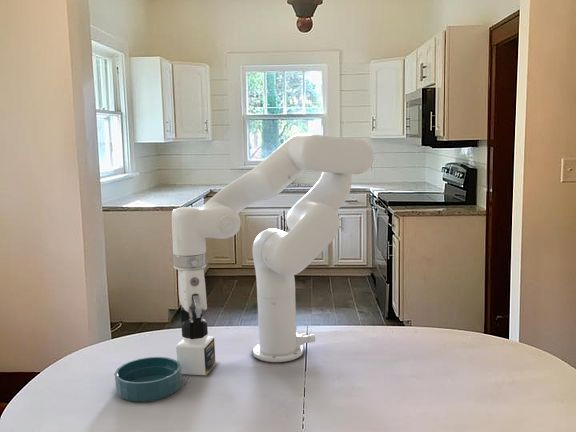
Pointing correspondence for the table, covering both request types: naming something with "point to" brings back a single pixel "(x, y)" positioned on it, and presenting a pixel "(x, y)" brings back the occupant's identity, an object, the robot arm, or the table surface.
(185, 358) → the medicine bottle
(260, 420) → the table surface
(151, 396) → the dish
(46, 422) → the table surface
